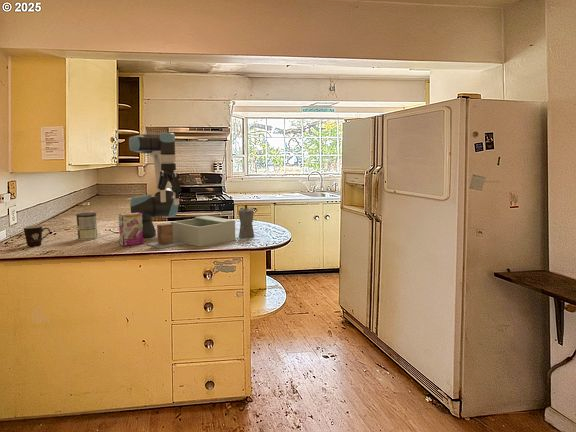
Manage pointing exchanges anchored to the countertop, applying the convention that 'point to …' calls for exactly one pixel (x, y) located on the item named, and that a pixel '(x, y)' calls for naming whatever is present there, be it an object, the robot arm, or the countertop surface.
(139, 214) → the candy bar box
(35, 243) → the coffee mug
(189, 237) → the crate
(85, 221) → the coffee can
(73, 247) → the countertop surface
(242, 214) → the coffeepot
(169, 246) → the pad
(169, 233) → the walnut block
